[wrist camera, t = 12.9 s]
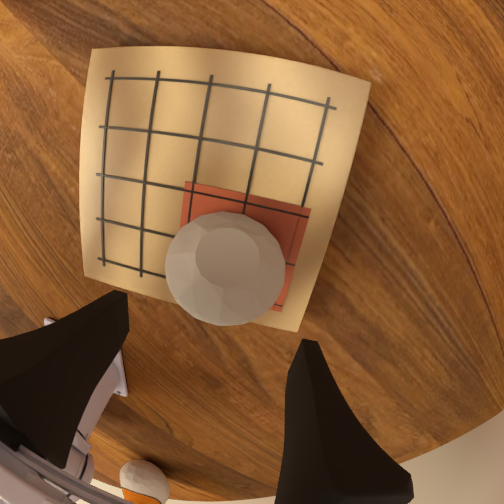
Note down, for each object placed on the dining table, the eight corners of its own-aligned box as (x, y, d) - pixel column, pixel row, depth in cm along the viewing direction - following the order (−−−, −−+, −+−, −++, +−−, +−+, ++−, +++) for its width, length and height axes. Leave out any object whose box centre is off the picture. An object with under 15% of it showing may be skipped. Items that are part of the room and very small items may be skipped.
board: (94, 266, 22) (83, 277, 20) (104, 51, 14) (90, 48, 13) (297, 319, 21) (297, 333, 20) (365, 84, 14) (372, 81, 13)
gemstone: (164, 327, 17) (150, 311, 13) (181, 234, 20) (176, 192, 15) (266, 340, 18) (288, 329, 13) (273, 247, 20) (294, 210, 16)
